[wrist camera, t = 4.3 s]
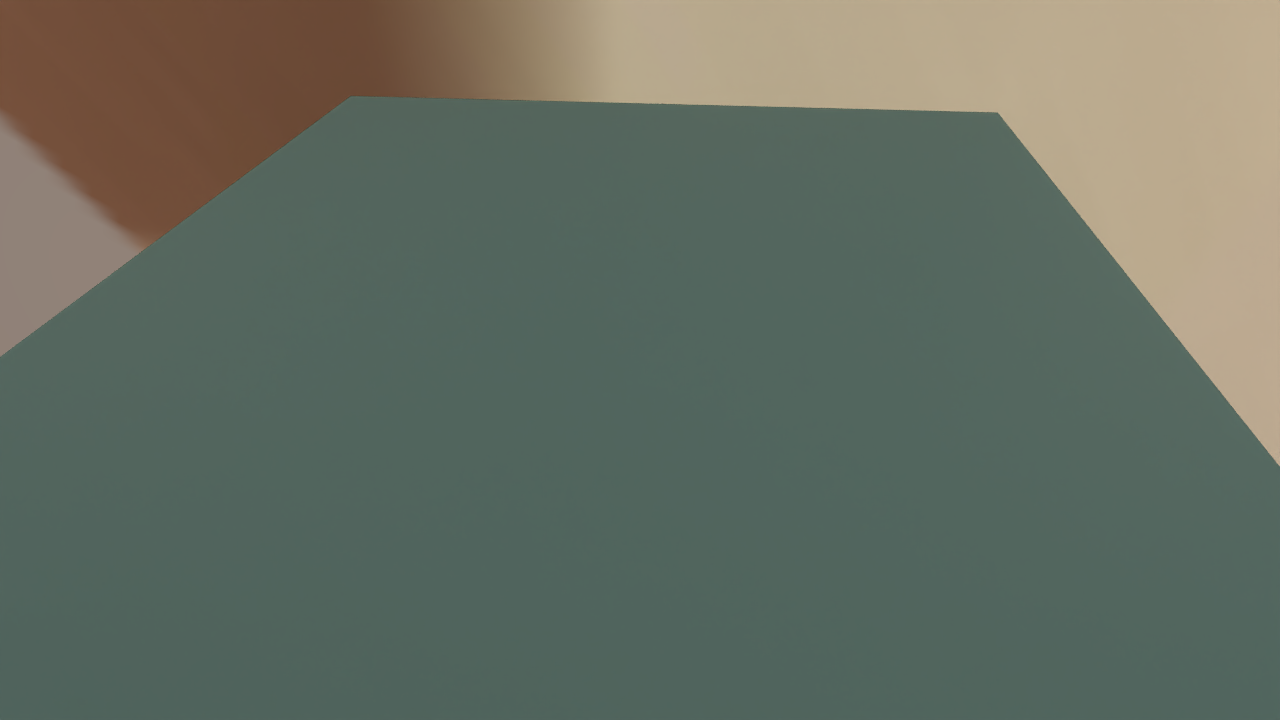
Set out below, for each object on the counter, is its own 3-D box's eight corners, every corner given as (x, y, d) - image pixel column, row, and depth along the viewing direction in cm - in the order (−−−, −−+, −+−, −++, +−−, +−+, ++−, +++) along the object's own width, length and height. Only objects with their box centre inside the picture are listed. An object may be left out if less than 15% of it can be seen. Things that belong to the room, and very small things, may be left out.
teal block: (997, 112, 6) (1665, 956, 2) (874, 547, 10) (985, 1203, 5) (350, 96, 7) (-449, 692, 2) (453, 511, 11) (221, 1075, 6)
